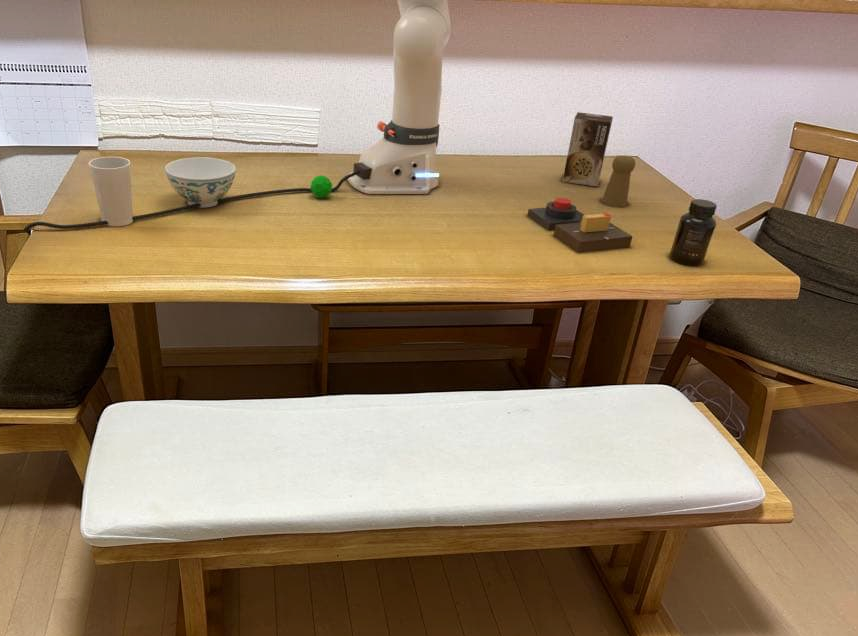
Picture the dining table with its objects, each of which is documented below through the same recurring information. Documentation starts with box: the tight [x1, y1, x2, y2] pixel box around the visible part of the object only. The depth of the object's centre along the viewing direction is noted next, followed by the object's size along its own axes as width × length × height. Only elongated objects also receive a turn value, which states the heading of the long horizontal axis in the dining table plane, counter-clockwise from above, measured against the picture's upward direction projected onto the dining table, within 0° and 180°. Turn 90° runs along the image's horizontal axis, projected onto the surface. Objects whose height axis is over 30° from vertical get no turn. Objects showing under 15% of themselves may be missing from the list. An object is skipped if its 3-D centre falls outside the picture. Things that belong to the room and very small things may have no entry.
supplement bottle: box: [669, 198, 717, 267], centre depth 152 cm, size 7×7×12 cm
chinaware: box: [164, 156, 237, 209], centre depth 165 cm, size 15×15×8 cm
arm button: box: [553, 197, 572, 210], centre depth 168 cm, size 4×4×2 cm
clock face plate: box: [553, 221, 633, 254], centre depth 160 cm, size 13×10×3 cm
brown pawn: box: [601, 155, 636, 208], centre depth 179 cm, size 6×6×11 cm
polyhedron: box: [310, 175, 333, 199], centre depth 173 cm, size 5×5×5 cm
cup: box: [88, 156, 134, 227], centre depth 153 cm, size 8×8×12 cm
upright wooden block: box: [580, 212, 612, 233], centre depth 158 cm, size 6×2×3 cm, turn 111°
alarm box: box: [526, 201, 585, 231], centre depth 169 cm, size 11×9×4 cm
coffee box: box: [561, 111, 614, 187], centre depth 190 cm, size 9×6×16 cm
